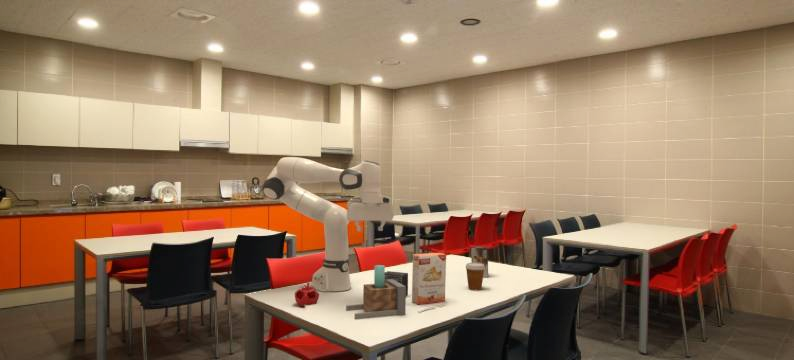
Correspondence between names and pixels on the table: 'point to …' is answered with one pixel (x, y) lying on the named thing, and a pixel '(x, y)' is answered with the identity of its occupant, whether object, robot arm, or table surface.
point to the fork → (434, 308)
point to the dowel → (379, 276)
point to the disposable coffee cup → (475, 275)
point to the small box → (398, 278)
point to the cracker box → (428, 278)
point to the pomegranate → (306, 296)
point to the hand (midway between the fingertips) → (370, 231)
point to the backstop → (398, 311)
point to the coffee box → (480, 257)
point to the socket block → (379, 298)
